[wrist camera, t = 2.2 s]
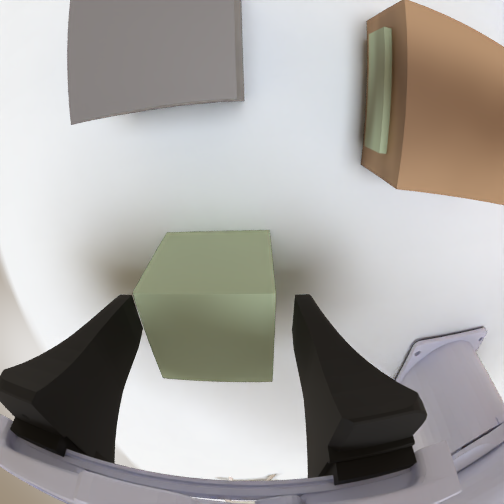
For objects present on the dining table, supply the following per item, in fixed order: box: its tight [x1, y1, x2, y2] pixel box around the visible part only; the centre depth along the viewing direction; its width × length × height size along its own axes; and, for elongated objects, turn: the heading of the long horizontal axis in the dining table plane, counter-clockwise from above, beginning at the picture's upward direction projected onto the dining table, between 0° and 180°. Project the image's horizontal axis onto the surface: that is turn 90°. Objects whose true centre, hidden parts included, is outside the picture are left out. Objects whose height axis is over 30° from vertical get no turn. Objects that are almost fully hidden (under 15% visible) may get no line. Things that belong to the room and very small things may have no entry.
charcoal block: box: [67, 0, 244, 125], centre depth 8 cm, size 5×5×5 cm
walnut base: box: [361, 0, 504, 205], centre depth 9 cm, size 7×7×4 cm
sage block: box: [133, 230, 276, 382], centre depth 13 cm, size 5×5×5 cm
